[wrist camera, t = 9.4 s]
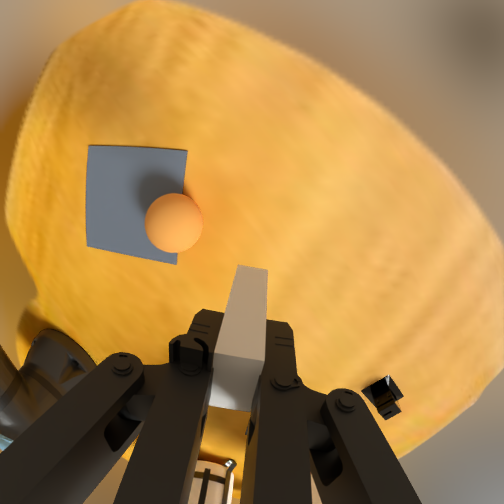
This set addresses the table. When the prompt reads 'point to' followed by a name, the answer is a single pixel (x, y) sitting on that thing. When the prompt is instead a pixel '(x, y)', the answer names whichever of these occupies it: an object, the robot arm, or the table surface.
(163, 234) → the ball
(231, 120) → the table surface
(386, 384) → the black recessed block
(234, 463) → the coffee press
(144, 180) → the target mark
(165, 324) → the table surface
